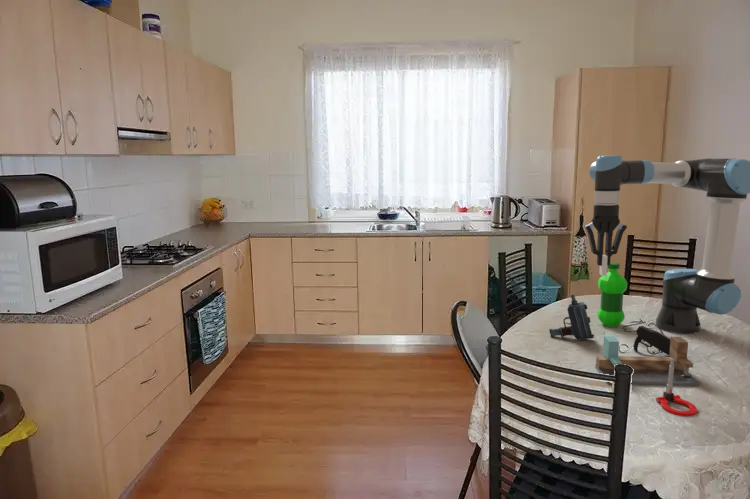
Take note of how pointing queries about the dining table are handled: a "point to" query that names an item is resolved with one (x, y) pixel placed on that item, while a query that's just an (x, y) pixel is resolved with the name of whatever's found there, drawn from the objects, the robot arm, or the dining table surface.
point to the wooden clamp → (655, 359)
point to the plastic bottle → (612, 296)
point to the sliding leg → (611, 349)
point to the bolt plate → (656, 377)
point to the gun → (575, 322)
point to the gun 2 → (652, 339)
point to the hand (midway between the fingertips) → (602, 274)
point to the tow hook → (674, 397)
